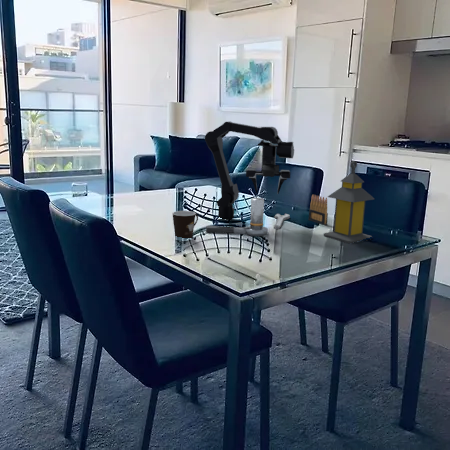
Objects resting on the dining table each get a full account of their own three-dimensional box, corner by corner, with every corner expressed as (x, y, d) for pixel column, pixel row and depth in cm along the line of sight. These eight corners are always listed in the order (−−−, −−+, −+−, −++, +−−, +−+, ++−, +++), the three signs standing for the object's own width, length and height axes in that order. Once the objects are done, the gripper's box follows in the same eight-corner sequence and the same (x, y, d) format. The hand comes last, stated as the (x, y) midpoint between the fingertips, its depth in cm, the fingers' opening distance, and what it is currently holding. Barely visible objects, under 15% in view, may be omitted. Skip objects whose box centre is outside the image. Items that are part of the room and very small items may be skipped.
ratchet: (205, 234, 194) (205, 228, 194) (207, 228, 203) (207, 223, 202) (267, 236, 193) (268, 231, 192) (267, 231, 201) (267, 225, 201)
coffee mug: (177, 243, 181) (177, 216, 179) (169, 237, 188) (168, 211, 186) (206, 240, 186) (206, 214, 184) (196, 234, 194) (197, 209, 191)
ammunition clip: (327, 224, 215) (329, 197, 212) (324, 225, 214) (326, 198, 211) (311, 219, 224) (313, 193, 221) (308, 220, 223) (309, 193, 220)
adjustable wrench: (279, 230, 205) (279, 226, 205) (264, 229, 207) (264, 225, 207) (290, 217, 228) (290, 213, 228) (276, 216, 230) (276, 212, 230)
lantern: (322, 235, 196) (327, 160, 189) (344, 231, 205) (351, 158, 198) (350, 244, 186) (357, 164, 178) (373, 238, 194) (380, 162, 187)
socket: (249, 229, 195) (250, 200, 192) (250, 226, 200) (251, 197, 197) (263, 230, 194) (264, 200, 191) (262, 227, 199) (264, 198, 196)
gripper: (246, 158, 201) (244, 196, 205) (292, 159, 200) (290, 197, 204) (246, 155, 212) (245, 191, 216) (290, 157, 211) (288, 193, 215)
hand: (267, 193), depth 212 cm, fingers open, 9 cm apart
